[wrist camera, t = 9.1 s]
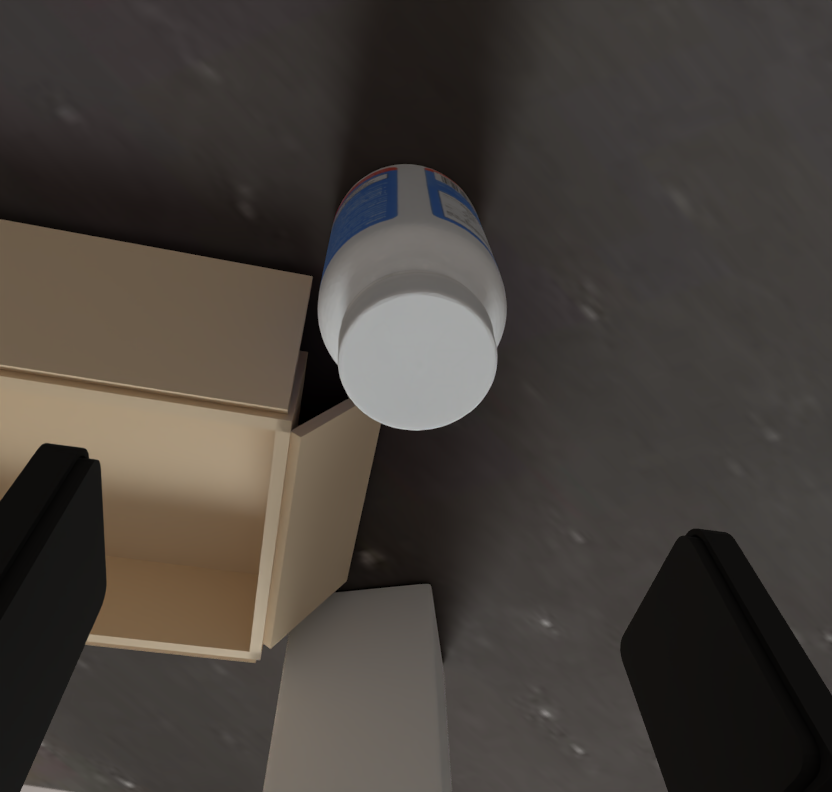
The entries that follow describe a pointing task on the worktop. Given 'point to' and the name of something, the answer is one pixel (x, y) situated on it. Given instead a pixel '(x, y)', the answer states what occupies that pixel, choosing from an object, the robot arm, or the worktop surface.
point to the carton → (182, 435)
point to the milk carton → (363, 698)
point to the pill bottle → (411, 299)
